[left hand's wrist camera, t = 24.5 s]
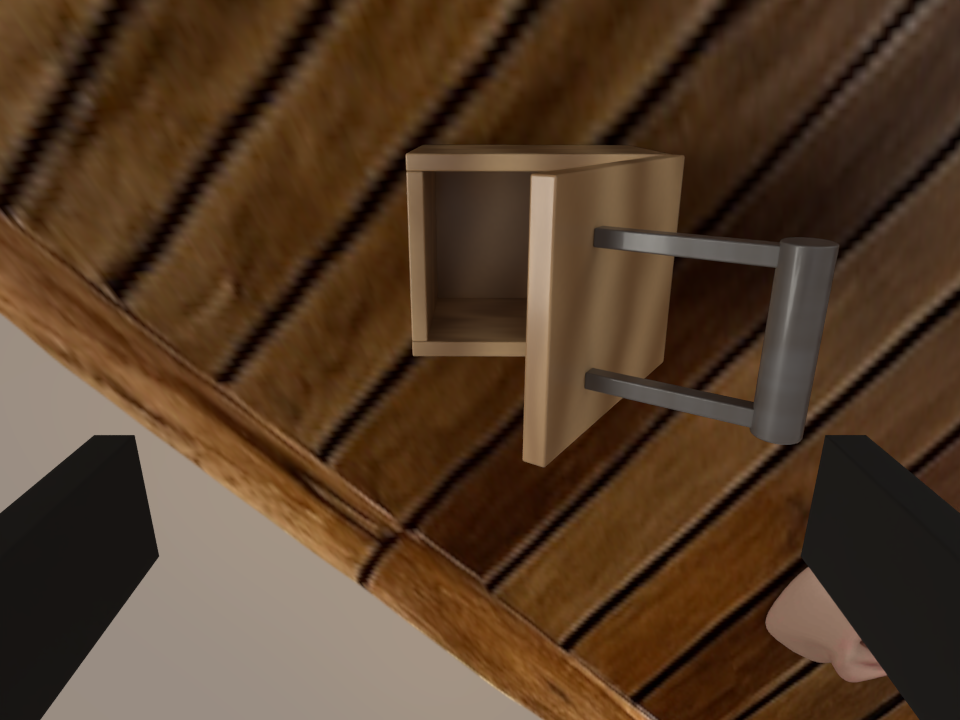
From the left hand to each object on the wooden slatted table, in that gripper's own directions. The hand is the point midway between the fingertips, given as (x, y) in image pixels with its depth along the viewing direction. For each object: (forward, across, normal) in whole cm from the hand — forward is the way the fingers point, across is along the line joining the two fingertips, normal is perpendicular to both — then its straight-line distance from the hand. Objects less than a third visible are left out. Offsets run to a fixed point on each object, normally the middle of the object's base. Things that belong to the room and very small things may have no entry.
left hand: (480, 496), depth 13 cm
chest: (+31, +3, 0) cm, 32 cm away
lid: (+16, +5, 0) cm, 17 cm away
